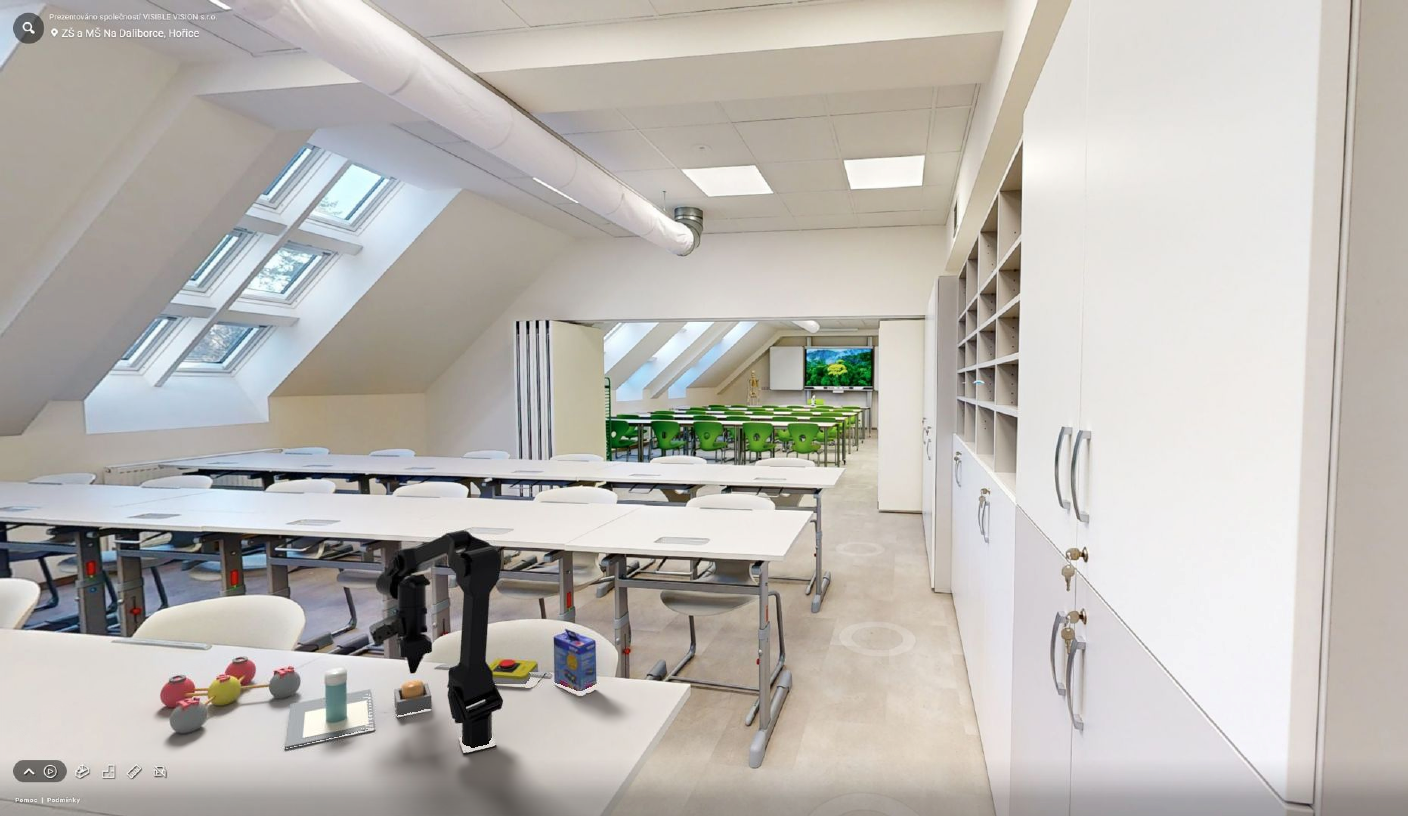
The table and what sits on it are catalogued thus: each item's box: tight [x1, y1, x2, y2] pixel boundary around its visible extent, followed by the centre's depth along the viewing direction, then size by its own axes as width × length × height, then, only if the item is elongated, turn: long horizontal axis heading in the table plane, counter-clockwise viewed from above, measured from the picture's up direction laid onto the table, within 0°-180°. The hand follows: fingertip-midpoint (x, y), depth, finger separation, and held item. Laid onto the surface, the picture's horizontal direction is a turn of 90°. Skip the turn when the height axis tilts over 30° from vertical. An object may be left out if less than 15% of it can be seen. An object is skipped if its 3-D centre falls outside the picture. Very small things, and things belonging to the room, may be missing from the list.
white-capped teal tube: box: [324, 667, 348, 723], centre depth 146 cm, size 4×4×10 cm
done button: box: [401, 680, 424, 700], centre depth 152 cm, size 4×4×3 cm
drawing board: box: [284, 688, 375, 750], centre depth 147 cm, size 20×16×1 cm
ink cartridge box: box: [553, 628, 598, 691], centre depth 162 cm, size 10×6×14 cm, turn 51°
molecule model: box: [159, 656, 301, 734], centre depth 154 cm, size 25×21×6 cm
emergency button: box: [488, 658, 545, 684], centre depth 168 cm, size 9×4×15 cm
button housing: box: [393, 682, 433, 717], centre depth 152 cm, size 7×7×4 cm
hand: (412, 672), depth 152 cm, fingers closed
